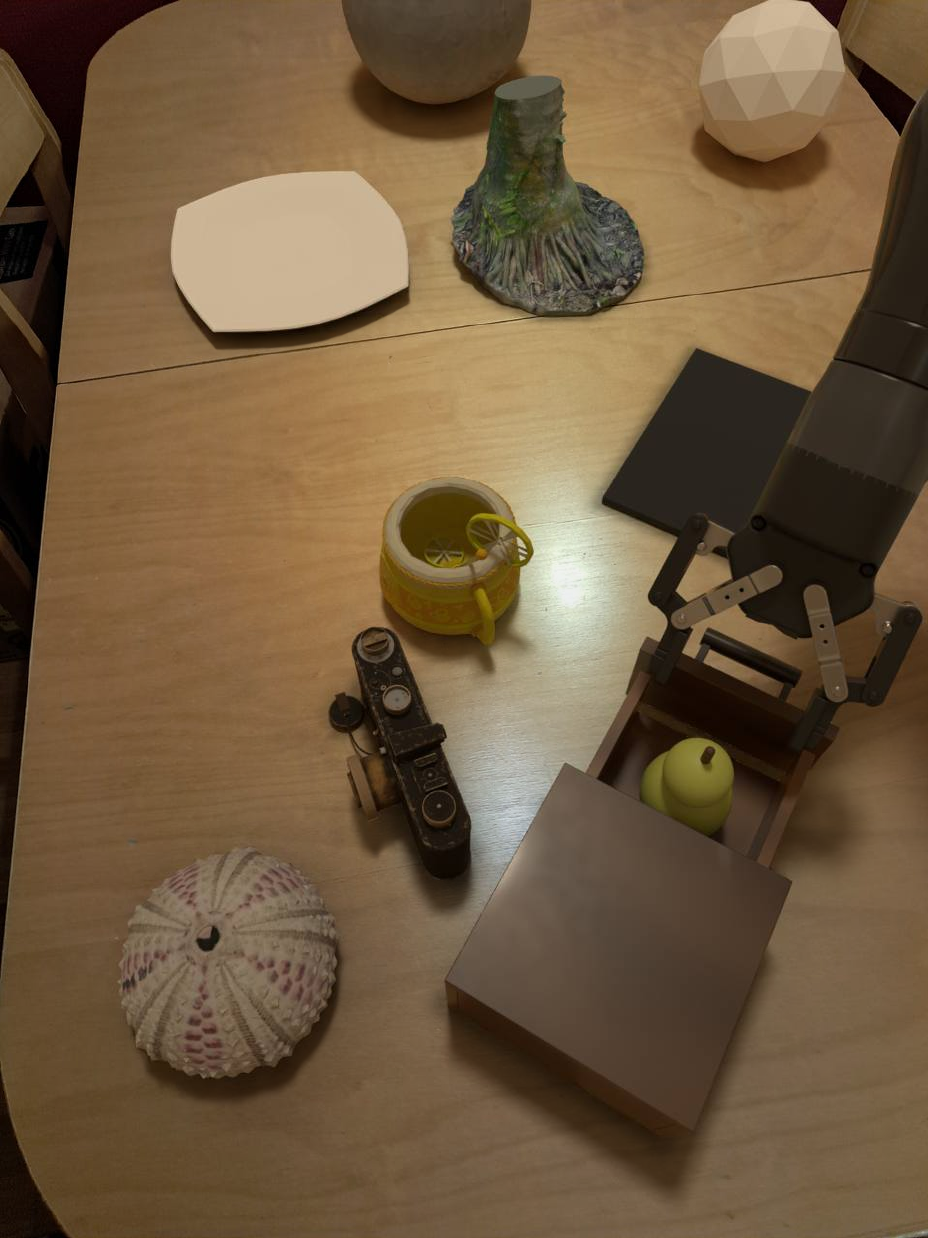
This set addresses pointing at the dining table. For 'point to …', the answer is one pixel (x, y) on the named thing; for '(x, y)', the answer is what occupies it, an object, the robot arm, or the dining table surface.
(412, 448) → the dining table surface
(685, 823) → the pear
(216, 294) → the plate
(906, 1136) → the dining table surface
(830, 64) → the geometric sphere
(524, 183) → the tree stump
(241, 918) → the sea urchin shell
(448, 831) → the camera
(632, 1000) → the cabinet
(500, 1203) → the dining table surface
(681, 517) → the mat
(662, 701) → the drawer
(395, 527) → the mug
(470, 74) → the bowl
